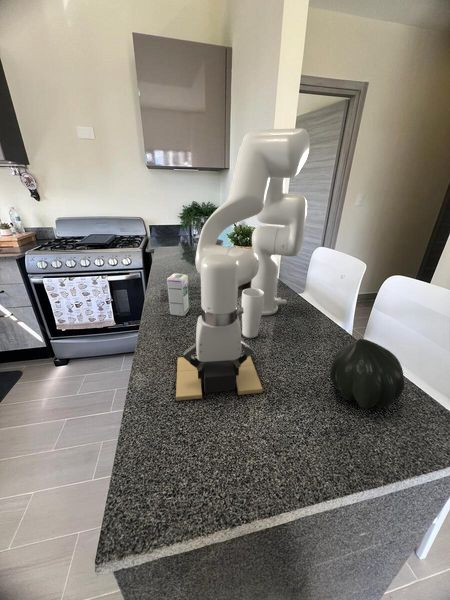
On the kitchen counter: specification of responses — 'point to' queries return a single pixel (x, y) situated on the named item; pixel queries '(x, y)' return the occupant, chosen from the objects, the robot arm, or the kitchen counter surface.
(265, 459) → the kitchen counter surface
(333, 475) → the kitchen counter surface
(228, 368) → the black block
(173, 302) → the syrup box
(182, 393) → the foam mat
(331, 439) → the kitchen counter surface
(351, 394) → the squash
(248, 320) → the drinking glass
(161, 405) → the kitchen counter surface
